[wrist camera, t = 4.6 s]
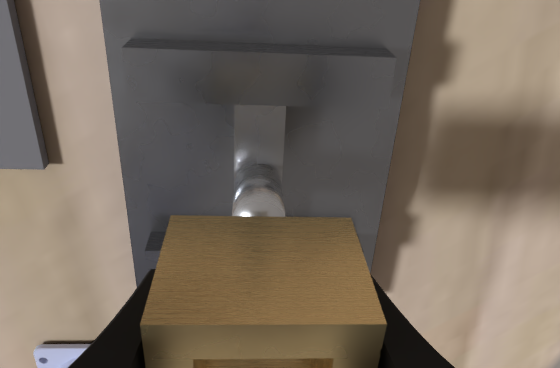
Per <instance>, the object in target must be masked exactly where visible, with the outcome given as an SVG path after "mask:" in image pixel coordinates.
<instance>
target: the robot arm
mask: <svg viewBox="0 0 560 368" xmlns="http://www.w3.org/2000/svg"><path fill="white" fill-rule="evenodd" d="M155 270H156V269H151V270H150V271H148V273H147V274H146V276H145V277H144V279H143V280H142V282H141V283H140V284H139V286H138V287H137V289H136V290H135V291H134V293H133V294H132V296H131V297H130V298H129V300H128V301H127V302H126V304H125V305H124V306H123V307H122V309H121V310H120V311H119V312H118V314H117V315H116V316H115V317H114V319H113V320H112V321H111V322H110V323H109V325H108V326H107V327H106V328H105V329H104V330H103V331H102V332H101V334H100V335H99V336H98V337H97V338H96V339H95V340H94V341H93V343H92V344H41V345H38V346H37V347H36V348H35V350H34V357H35V361H36V364H37V368H146V366H145V359H144V351H143V344H142V336H141V329H140V323H141V320H142V316H143V313H144V309H145V305H146V302H147V298H148V295H149V291H150V288H151V284H152V281H153V277H154V273H155ZM370 275H371V274H370ZM371 278H372V281H373V284H374V287H375V290H376V293H377V296H378V299H379V302H380V305H381V308H382V311H383V314H384V317H385V320H386V323H387V327H386V331H385V336H384V340H383V345H382V349H381V354H380V359H379V363H378V368H455V367H454V366H452V365H451V364H450V363H449V362H448V361H447V360H446V359H445V358H443V357H442V356H441V355H440V354H439V353H438V352H437V351H436V350H435V349H434V348H433V347H432V346H431V345H430V344H429V343H428V342H427V341H426V340H425V339H424V338H423V337H422V336H421V335H420V334H419V332H418V331H417V330H416V329H415V328H414V327H413V326H412V325H411V324H410V322H409V321H408V320H407V319H406V318H405V317H404V315H403V314H402V313H401V312H400V311H399V310H398V308H397V307H396V306H395V305H394V304H393V302H392V301H391V300H390V299H389V297H388V296H387V295H386V294H385V292H384V291H383V290H382V288H381V287H380V286H379V284H378V283H377V282H376V281H375V279H374V278H373V277H372V275H371Z"/></svg>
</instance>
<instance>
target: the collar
mask: <svg viewBox="0 0 560 368" xmlns="http://www.w3.org/2000/svg"><path fill="white" fill-rule="evenodd" d="M386 327H387V323H386V320H385V317H384V314H383V311H382V308H381V305H380V302H379V299H378V296H377V293H376V290H375V287H374V284H373V281H372V278H371V275H370V272H369V269H368V266H367V263H366V260H365V257H364V254H363V251H362V248H361V245H360V242H359V239H358V236H357V233H356V230H355V227H354V224H353V221H352V218H339V217H263V216H186V215H171V216H170V220H169V223H168V227H167V231H166V234H165V238H164V241H163V245H162V248H161V252H160V256H159V259H158V263H157V266H156V270H155V273H154V277H153V281H152V284H151V288H150V291H149V295H148V298H147V302H146V305H145V309H144V313H143V316H142V320H141V323H140V329H141V336H142V344H143V351H144V359H145V366H146V368H378V363H379V359H380V354H381V349H382V345H383V340H384V336H385V331H386Z"/></svg>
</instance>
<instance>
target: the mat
mask: <svg viewBox="0 0 560 368" xmlns="http://www.w3.org/2000/svg"><path fill="white" fill-rule="evenodd" d="M48 164H49V162H48V157H47V153H46V148H45V143H44V139H43V134H42V129H41V125H40V120H39V115H38V111H37V106H36V101H35V97H34V92H33V87H32V83H31V78H30V73H29V69H28V64H27V59H26V55H25V50H24V45H23V41H22V36H21V31H20V26H19V22H18V17H17V12H16V8H15V3H14V0H0V169H45V168H46V167H47V165H48Z"/></svg>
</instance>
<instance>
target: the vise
mask: <svg viewBox="0 0 560 368" xmlns="http://www.w3.org/2000/svg"><path fill="white" fill-rule="evenodd" d="M419 4H420V0H100V8H101V16H102V23H103V31H104V39H105V46H106V54H107V62H108V70H109V77H110V85H111V93H112V100H113V108H114V116H115V123H116V131H117V139H118V146H119V154H120V162H121V169H122V177H123V185H124V192H125V200H126V208H127V215H128V223H129V231H130V239H131V246H132V254H133V262H134V269H135V277H136V285H137V287H138V286H139V284H140V283H141V282H142V280H143V279H144V277H145V276H146V274H147V273H148V271H150V270H151V269H156V266H157V263H158V259H159V256H160V252H161V248H162V245H163V241H164V238H165V234H166V231H167V227H168V223H169V220H170V216H171V215H186V216H263V217H339V218H352V221H353V224H354V227H355V230H356V233H357V236H358V239H359V242H360V245H361V248H362V251H363V254H364V257H365V260H366V263H367V266H368V269H369V272H371V266H372V261H373V256H374V250H375V245H376V239H377V234H378V228H379V223H380V217H381V212H382V206H383V201H384V195H385V190H386V184H387V179H388V174H389V168H390V163H391V157H392V152H393V146H394V141H395V135H396V130H397V124H398V119H399V113H400V108H401V102H402V97H403V92H404V86H405V81H406V75H407V70H408V64H409V59H410V53H411V48H412V42H413V37H414V31H415V26H416V20H417V15H418V10H419Z"/></svg>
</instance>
